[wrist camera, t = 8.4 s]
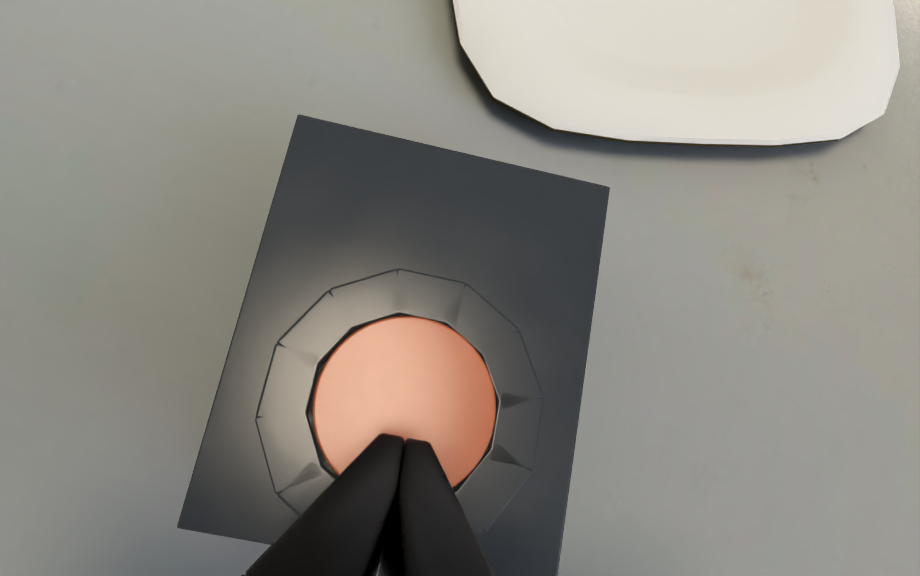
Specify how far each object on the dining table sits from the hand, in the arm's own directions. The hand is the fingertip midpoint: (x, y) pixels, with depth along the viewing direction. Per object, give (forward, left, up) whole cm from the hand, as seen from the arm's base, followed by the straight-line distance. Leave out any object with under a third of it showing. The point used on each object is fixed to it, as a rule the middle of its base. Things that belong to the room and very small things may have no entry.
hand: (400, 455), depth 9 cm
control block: (+3, 0, -13) cm, 13 cm away
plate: (+25, -8, -13) cm, 29 cm away
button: (+1, 0, -5) cm, 5 cm away
